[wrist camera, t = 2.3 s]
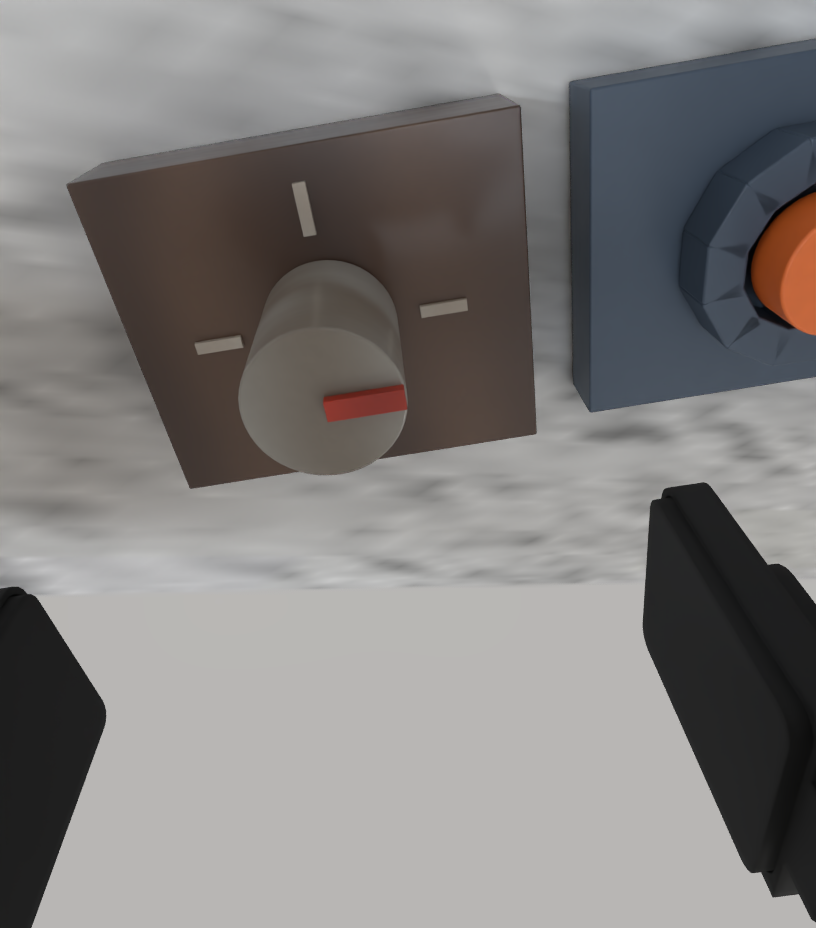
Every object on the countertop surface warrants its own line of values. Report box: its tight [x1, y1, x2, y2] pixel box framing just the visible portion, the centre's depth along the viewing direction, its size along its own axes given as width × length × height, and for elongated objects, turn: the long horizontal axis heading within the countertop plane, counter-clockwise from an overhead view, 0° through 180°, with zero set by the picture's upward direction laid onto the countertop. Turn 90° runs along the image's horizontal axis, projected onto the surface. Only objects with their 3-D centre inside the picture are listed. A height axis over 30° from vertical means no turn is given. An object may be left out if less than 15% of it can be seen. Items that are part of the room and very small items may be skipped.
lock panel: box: [67, 94, 537, 489], centre depth 21 cm, size 12×10×3 cm
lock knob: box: [238, 260, 408, 475], centre depth 18 cm, size 4×4×5 cm
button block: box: [569, 39, 816, 412], centre depth 21 cm, size 12×10×4 cm
